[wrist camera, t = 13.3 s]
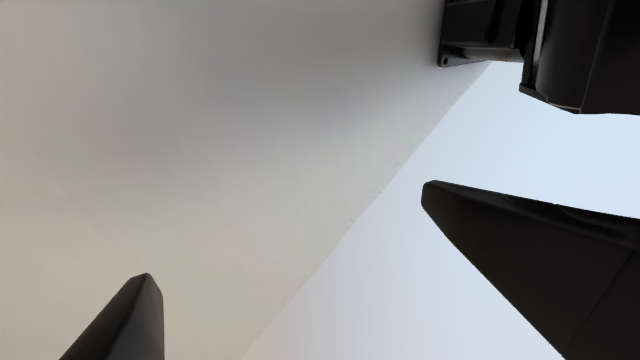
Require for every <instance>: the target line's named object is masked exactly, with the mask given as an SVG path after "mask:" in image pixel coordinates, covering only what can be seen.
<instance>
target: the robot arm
mask: <svg viewBox="0 0 640 360" xmlns="http://www.w3.org/2000/svg"><path fill="white" fill-rule="evenodd" d="M487 60H491V61H505V62H519V63H524V65H523V72H522V81H521V83H520V85H519V91H520V92H522V93H524V94H527V95H529V96H532V97H534V98H536V99H538V100H541V101H543V102H545V103H548V104H550V105H552V106H555V107H557V108H560V109H562V110H565V111H568V112H570V113H573V114H606V113H611V114H613V113H614V114H631V115H640V0H445V7H444V15H443V22H442V30H441V38H440V46H439V53H438V61H437V64H438V66H439V67H451V66H457V65H463V64H469V63H475V62H481V61H487ZM443 61H444V63H443ZM421 204H422V207H423V209H424V210H425V211H426V212H427V213H428V215H429V216H430V217H431V218H432V220H433V221H434V222H435V224H436V225H437V226H438V227H439V228H440V230H441V231H442V232H443V233H444V235H445V236H446V237H447V238H448V239H449V240H450V241H451V243H453V245H454V246H455V247H456V248H457V249H458V250H459V251H460V252H461V253H462V254H463V255H464V256H465V257H466V258H467V259H468V260H469V261H470V262H471V263H472V264H473V265H474V266H475V267H476V268H477V269H478V270H479V271H480V272H481V273H482V274H483V275H484V276H485V278H486V279H487V280H488V281H489V282H490V283H491V284H492V285H493V286H494V287H495V288H496V289H497V290H498V291H499V292H500V293H501V294H502V295H503V296H504V297H505V298H506V299H507V300H508V301H509V302H510V303H511V304H512V305H513V306H514V307H515V308H516V309H517V310H518V311H519V312H520V313H521V314H522V315H523V317H524V318H525V319H526V320H527V321H528V322H529V323H530V324H531V325H532V326H533V327H534V328H535V329H536V330H537V331H538V332H539V333H540V334H541V335H542V336H543V337H544V338H545V339H546V340H547V341H548V342H549V343H550V344H551V345H552V346H553V347H554V348H555V349H556V350H557V351H558V352H559V353H560V354H561V356H562V357H563V358H564V359H565V360H640V219H637V218H631V217H624V216H618V215H613V214H607V213H601V212H595V211H590V210H584V209H579V208H574V207H569V206H563V205H559V204H553V203H548V202H543V201H538V200H533V199H528V198H523V197H518V196H513V195H508V194H502V193H498V192H493V191H488V190H483V189H478V188H473V187H468V186H463V185H458V184H453V183H448V182H443V181H438V180H432V181H429V182H426V183H425V184H424V185H423V189H422V197H421ZM59 360H164V312H163V296H162V293H161V291H160V289H159V288H158V286H157V284H156V283H155V281H154V279H153V278H152V276H151V275H150V274H149V273H144V274H141V275H138V276H135V277H132V278H130V279H129V280H128V281H127V282H126V283H125V284H124V286H123V287H122V288H121V289H120V290H119V291H118V292H117V294H116V295H115V296H114V297H113V298H112V299H111V301H110V302H109V303H108V304H107V305H106V306H105V307H104V309H103V310H102V311H101V312H100V313H99V314H98V315H97V317H96V318H95V319H94V320H93V321H92V322H91V324H90V325H89V326H88V327H87V328H86V329H85V330H84V332H83V333H82V334H81V335H80V336H79V337H78V338H77V340H76V341H75V342H74V343H73V344H72V345H71V347H70V348H69V349H68V350H67V351H66V352H65V353H64V355H63V356H62V357H61V358H60V359H59Z"/></svg>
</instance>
